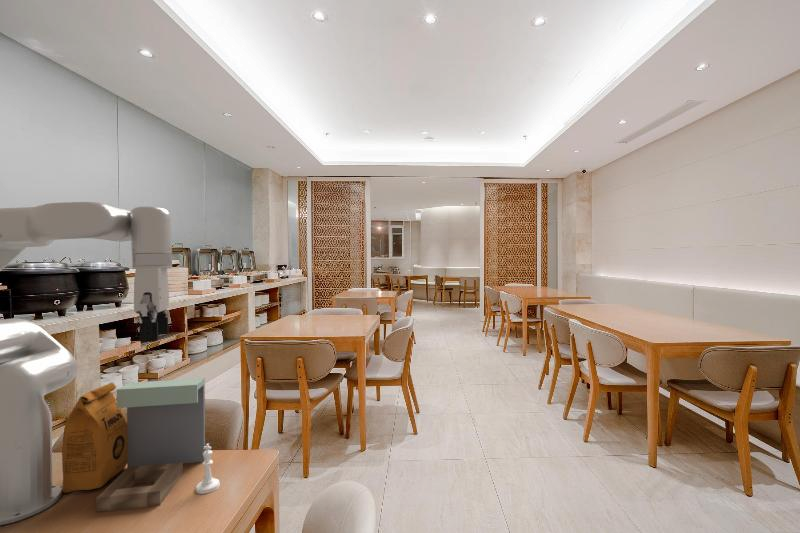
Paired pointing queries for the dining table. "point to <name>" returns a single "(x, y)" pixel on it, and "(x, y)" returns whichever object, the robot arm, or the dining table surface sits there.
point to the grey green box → (164, 421)
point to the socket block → (128, 497)
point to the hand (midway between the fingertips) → (155, 337)
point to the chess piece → (207, 474)
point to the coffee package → (94, 441)
